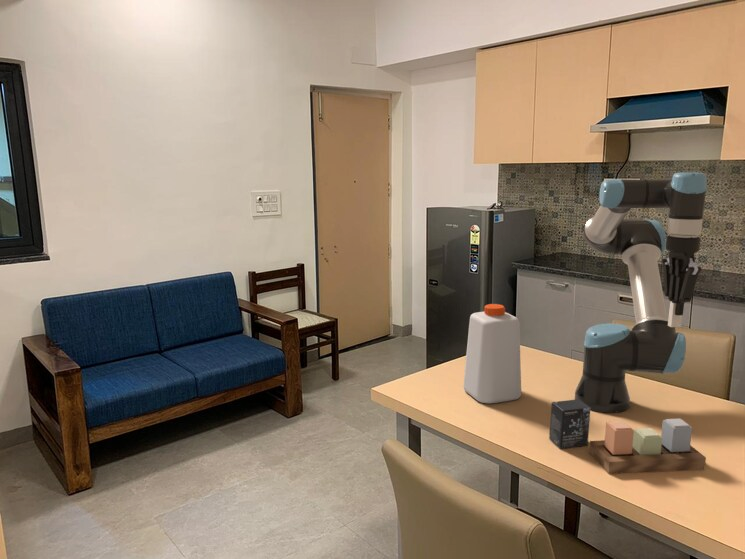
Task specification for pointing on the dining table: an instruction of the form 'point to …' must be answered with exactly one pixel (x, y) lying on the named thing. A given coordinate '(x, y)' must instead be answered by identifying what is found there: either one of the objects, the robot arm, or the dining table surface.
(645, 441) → the sage button
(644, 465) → the wooden tray
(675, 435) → the slate button
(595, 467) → the dining table surface
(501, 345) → the plastic bottle
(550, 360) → the dining table surface
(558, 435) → the box
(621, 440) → the salmon pink block
